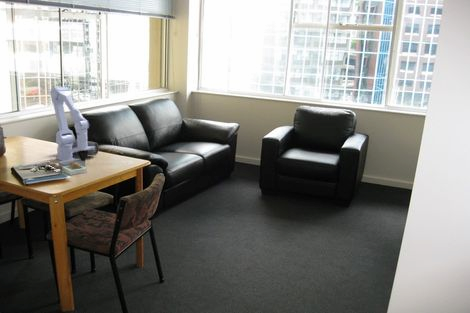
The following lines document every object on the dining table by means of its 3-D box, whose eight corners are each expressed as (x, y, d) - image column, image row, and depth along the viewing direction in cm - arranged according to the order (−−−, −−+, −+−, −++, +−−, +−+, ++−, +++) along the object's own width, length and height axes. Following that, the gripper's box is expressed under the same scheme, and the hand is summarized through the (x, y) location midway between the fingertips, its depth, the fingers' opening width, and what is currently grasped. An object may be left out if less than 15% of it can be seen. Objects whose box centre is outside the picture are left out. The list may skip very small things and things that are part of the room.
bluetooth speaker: (59, 155, 287) (58, 139, 284) (67, 151, 296) (67, 136, 293) (91, 159, 282) (91, 143, 279) (99, 155, 291) (99, 140, 288)
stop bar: (47, 167, 260) (47, 162, 259) (50, 166, 261) (50, 161, 260) (57, 172, 252) (56, 167, 251) (60, 171, 253) (60, 166, 253)
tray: (61, 170, 255) (61, 166, 254) (77, 168, 262) (77, 164, 261) (70, 175, 248) (70, 170, 248) (86, 172, 255) (86, 168, 254)
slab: (58, 166, 263) (58, 161, 263) (77, 163, 272) (77, 158, 271) (66, 170, 257) (65, 165, 257) (85, 166, 266) (85, 161, 265)
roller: (68, 166, 255) (72, 160, 256) (74, 169, 258) (77, 163, 259) (73, 169, 251) (77, 162, 252) (79, 172, 254) (82, 165, 255)
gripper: (74, 143, 258) (75, 166, 262) (97, 140, 269) (97, 162, 272) (68, 141, 263) (69, 163, 266) (90, 138, 273) (91, 159, 277)
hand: (83, 162), depth 270 cm, fingers closed
